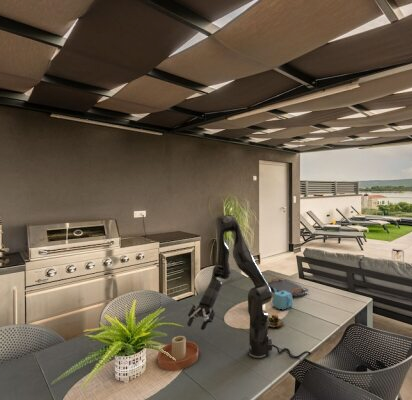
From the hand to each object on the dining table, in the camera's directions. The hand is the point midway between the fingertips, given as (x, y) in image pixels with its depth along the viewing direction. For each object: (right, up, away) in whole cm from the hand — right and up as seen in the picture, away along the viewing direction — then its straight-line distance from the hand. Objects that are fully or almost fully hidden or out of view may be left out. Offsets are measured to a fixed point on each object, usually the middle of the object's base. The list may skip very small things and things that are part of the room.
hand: (195, 327), depth 141 cm
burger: (+40, -10, +25) cm, 49 cm away
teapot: (+46, -10, +53) cm, 71 cm away
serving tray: (+51, -10, +87) cm, 101 cm away
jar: (-5, -9, -10) cm, 15 cm away
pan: (-5, -10, -10) cm, 15 cm away
